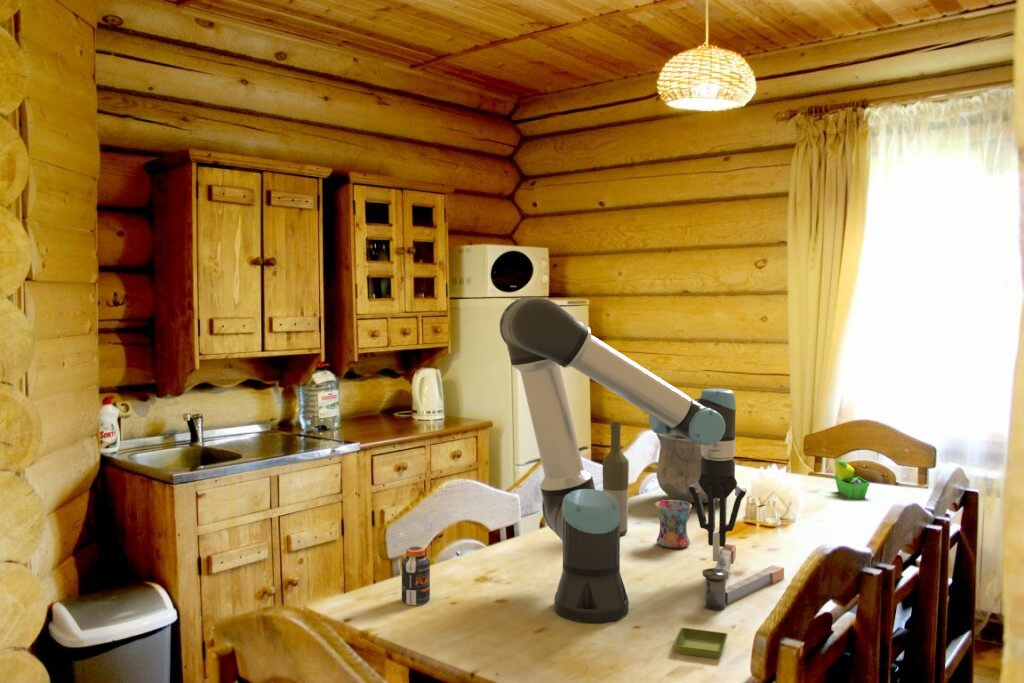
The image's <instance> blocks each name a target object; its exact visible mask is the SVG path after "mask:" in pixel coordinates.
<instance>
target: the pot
mask: <svg viewBox="0 0 1024 683" xmlns="http://www.w3.org/2000/svg"><path fill="white" fill-rule="evenodd" d="M655 434H656V435H655V436H657V439H658V440H659V445H660V447H659V453H658V460H657V468H656V479H657V483H658V486H659V487H660V489H661V490H662V491H663V492H664V493H665V494H666V495H667V496H669V497H670V498H672V499H673V500H679V501H685V502H688V503H690V504H695V503H694V499H693V496H692V494H691V493H690V491H689V487H690V486H691V485H692V484H696V483H697V482H698V480H699V478H700V476H701V458H702V457H703V456H702V455H701V445H699V444H696V443H695V442H693V441H691V440H689V439H687V438H684V437H681V436H679V435H676V434H657V433H655ZM700 489H701V490H700V492H699V493H700V496H701V500H702V504H708V496H707V495H706V494H705V492H704V491H703V489H702V488H701V487H700ZM716 501H719V498H716V499H715V502H716Z"/></svg>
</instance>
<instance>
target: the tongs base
mask: <svg viewBox="0 0 1024 683" xmlns="http://www.w3.org/2000/svg"><path fill="white" fill-rule="evenodd" d="M729 573H730V572H727V571H725V570H722V569H715V568H712V567H711V568H705V569H703V570H702V576H703V577H704V578H705V586H704V587H705V590H704V591H705V593H704V594H705V595H704V597H705V599H704V600H705V601H704V602H705V605H704V607H705V608H706V609H708V610H709V611H710V610H711V611H716V612H717V611H724V610H725V609H726V605H729V604H731V603H734V602H735V601H737V600H740V599H741V598H744V597H745V596H749V595H750V594H752V593H754V592H756V591H759V590H760V589H762V588H766V587H767V586H768V585H771V584H776V583H778V582H779V581H781V580H783V579H785V568H784V567H781V566H778V565H773V564H772V565H770V566H768V567H766V568H763V569H761V571H758V572H757V573H755V574H752V575H750V576H749V577H746V578H744V579H742V580H740V581H738V582H735V583H733V584H730V585H728V586H727V587H726V581H727V579H728V578H729V577H730V576H729Z"/></svg>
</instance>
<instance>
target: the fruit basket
mask: <svg viewBox="0 0 1024 683" xmlns="http://www.w3.org/2000/svg"><path fill="white" fill-rule="evenodd" d="M835 471H836V475H833V478H834V480H835V484H836V489H837V492H838V493H840V494H841V495H843V496H844V497H846V498H847V499H865V498H866V495H867V491H868V489H869V486H870V482H869V481H867V480H865V479H863V478H861V477H860V476H858V475H854V473H855V469H854V467H852V466H851V465H850V464H848V463H847V462H846V461H845V460H842V459H841V460H837V461H836V463H835Z"/></svg>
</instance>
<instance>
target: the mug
mask: <svg viewBox="0 0 1024 683" xmlns="http://www.w3.org/2000/svg"><path fill="white" fill-rule="evenodd" d="M654 506H655V508H656V512H657V514H658V517H659V518H658V519H659V533H658V536H657V539H656V543H657V544H658V545H660V546H662V547H664V548H668V549H680V548H681V549H682V548H684V547H687V546H689V545H690V544H691V540H690V539H689V536H688V530H687V525H688V521H689V519H690V516H691V513H692V507H693V505H692V503H688V502H685V501H679V500H676V499H664V500H658V501H656V502H655V503H654Z"/></svg>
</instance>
